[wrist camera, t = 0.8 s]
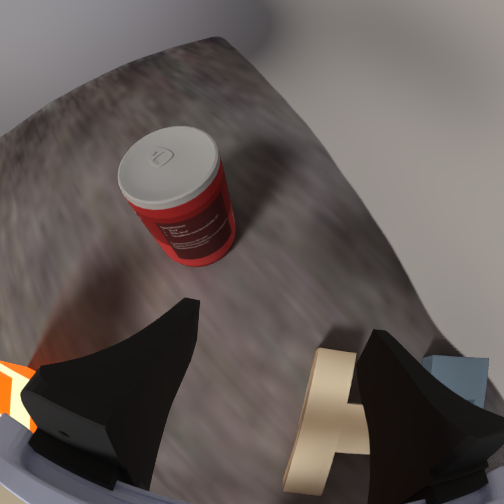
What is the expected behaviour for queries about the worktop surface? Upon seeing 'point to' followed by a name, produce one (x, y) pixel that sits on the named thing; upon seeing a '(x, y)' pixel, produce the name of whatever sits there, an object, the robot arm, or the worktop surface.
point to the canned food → (180, 193)
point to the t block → (325, 423)
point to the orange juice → (15, 392)
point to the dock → (461, 375)
